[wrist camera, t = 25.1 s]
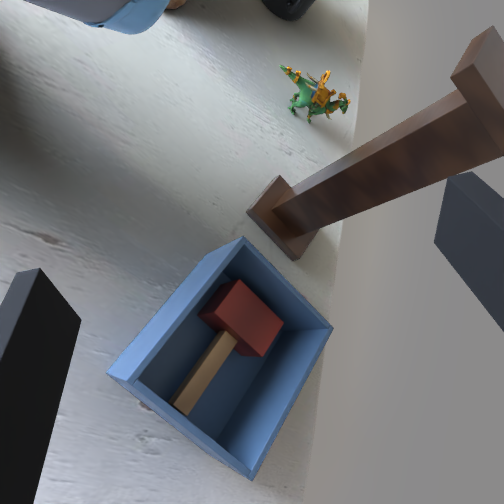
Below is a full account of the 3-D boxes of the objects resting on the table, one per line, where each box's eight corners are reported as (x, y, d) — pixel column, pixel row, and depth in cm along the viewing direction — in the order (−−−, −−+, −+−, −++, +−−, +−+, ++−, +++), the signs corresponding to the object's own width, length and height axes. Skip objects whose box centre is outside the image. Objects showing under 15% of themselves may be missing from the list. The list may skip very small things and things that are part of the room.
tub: (105, 372, 35) (125, 380, 27) (206, 254, 42) (243, 235, 35) (209, 454, 38) (252, 481, 31) (285, 330, 46) (334, 328, 38)
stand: (242, 209, 46) (470, 66, 22) (271, 176, 50) (494, 21, 26) (295, 264, 49) (551, 187, 25) (318, 228, 52) (563, 132, 28)
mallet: (142, 384, 35) (156, 389, 32) (220, 284, 42) (239, 278, 38) (195, 426, 37) (213, 436, 33) (262, 324, 43) (284, 322, 40)
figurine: (323, 135, 57) (364, 107, 50) (258, 94, 52) (293, 56, 45) (326, 119, 58) (366, 89, 51) (262, 78, 53) (297, 38, 46)
